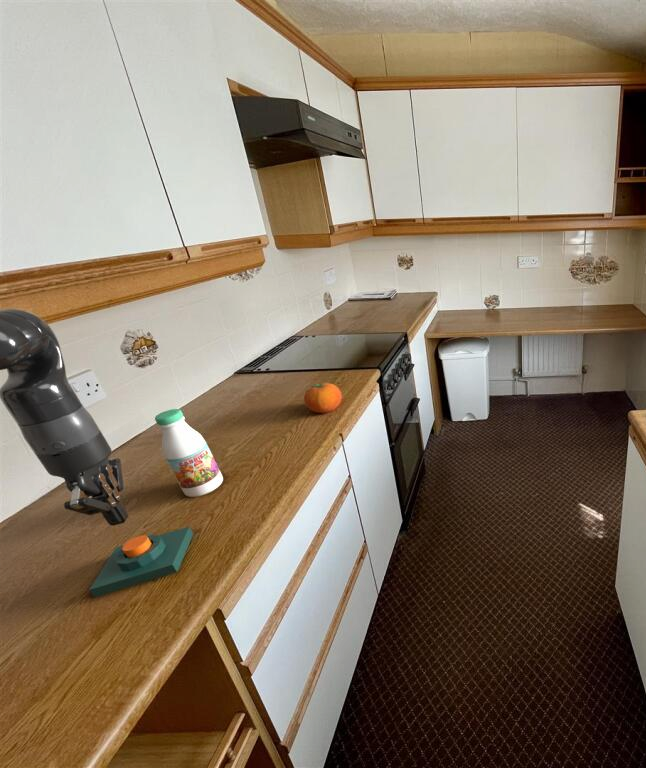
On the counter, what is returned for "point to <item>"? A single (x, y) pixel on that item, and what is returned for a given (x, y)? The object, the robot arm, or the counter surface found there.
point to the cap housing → (143, 563)
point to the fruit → (322, 398)
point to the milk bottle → (188, 455)
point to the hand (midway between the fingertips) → (120, 521)
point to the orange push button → (136, 546)
